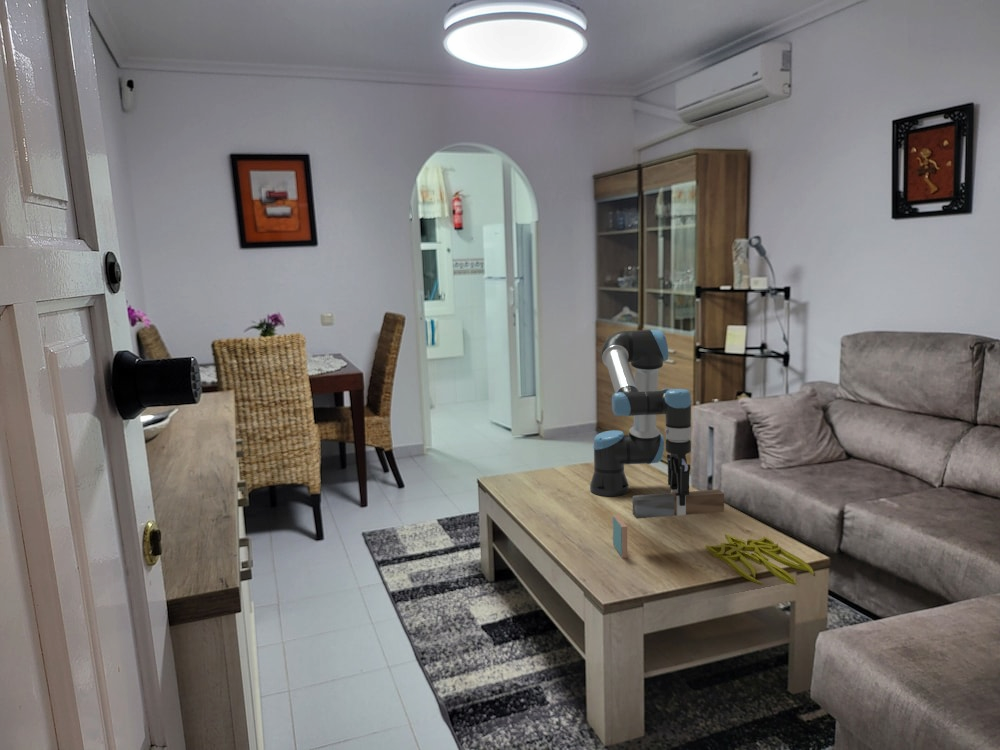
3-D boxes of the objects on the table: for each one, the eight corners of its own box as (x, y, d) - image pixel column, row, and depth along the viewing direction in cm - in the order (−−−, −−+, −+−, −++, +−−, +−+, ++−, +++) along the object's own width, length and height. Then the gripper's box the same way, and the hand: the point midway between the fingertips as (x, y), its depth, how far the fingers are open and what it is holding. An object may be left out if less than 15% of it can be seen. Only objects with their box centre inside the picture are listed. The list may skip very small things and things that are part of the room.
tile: (613, 544, 216) (612, 515, 214) (618, 544, 216) (617, 514, 215) (621, 557, 206) (621, 526, 205) (627, 557, 206) (627, 526, 205)
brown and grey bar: (632, 514, 212) (632, 495, 211) (718, 507, 215) (718, 489, 214) (636, 518, 208) (636, 500, 207) (723, 511, 211) (724, 493, 210)
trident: (755, 529, 221) (830, 575, 187) (755, 533, 221) (830, 581, 187) (693, 538, 216) (760, 587, 182) (693, 542, 216) (760, 593, 182)
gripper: (657, 433, 216) (657, 503, 219) (676, 447, 199) (676, 522, 202) (679, 432, 216) (679, 502, 220) (701, 445, 200) (700, 520, 203)
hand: (678, 511), depth 211 cm, fingers closed on brown and grey bar, 4 cm apart
